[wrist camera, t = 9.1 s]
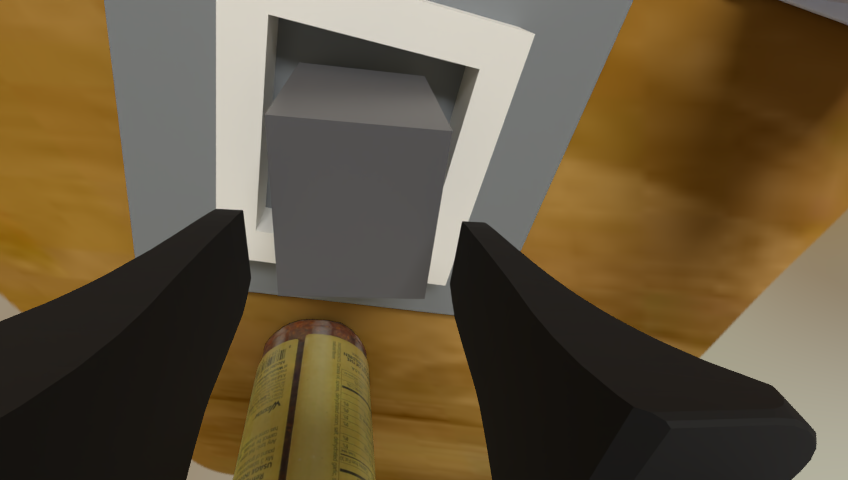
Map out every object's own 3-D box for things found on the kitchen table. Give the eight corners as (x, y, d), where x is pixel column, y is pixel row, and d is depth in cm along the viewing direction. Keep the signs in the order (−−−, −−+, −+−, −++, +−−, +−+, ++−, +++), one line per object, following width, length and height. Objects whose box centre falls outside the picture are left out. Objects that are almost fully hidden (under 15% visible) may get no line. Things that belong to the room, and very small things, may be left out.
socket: (637, -50, 16) (691, -52, 13) (484, 305, 25) (498, 345, 23) (96, -245, 12) (19, -304, 9) (148, 263, 21) (117, 307, 18)
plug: (421, 69, 16) (452, 131, 10) (406, 194, 19) (424, 299, 13) (303, 56, 16) (264, 114, 10) (306, 187, 19) (278, 296, 13)
